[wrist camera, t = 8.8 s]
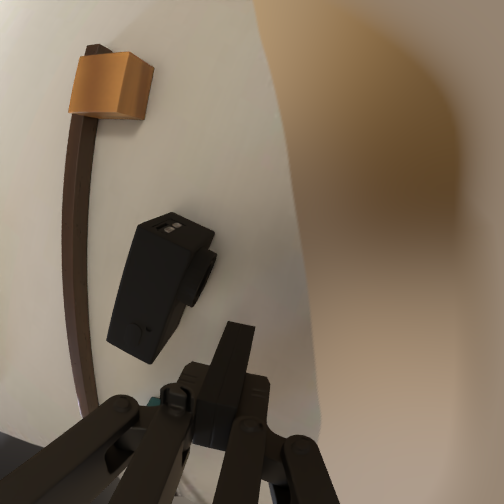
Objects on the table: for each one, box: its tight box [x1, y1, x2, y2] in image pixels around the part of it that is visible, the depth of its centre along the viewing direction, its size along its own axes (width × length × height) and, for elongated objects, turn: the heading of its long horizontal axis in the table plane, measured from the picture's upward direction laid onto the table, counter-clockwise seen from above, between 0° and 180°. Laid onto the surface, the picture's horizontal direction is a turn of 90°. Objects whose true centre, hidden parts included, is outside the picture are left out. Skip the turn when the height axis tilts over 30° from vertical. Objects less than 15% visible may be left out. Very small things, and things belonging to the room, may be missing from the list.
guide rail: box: [62, 44, 112, 418], centre depth 28 cm, size 2×42×2 cm, turn 171°
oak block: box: [68, 52, 154, 120], centre depth 23 cm, size 5×5×5 cm
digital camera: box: [106, 212, 217, 364], centre depth 25 cm, size 10×5×7 cm, turn 156°
